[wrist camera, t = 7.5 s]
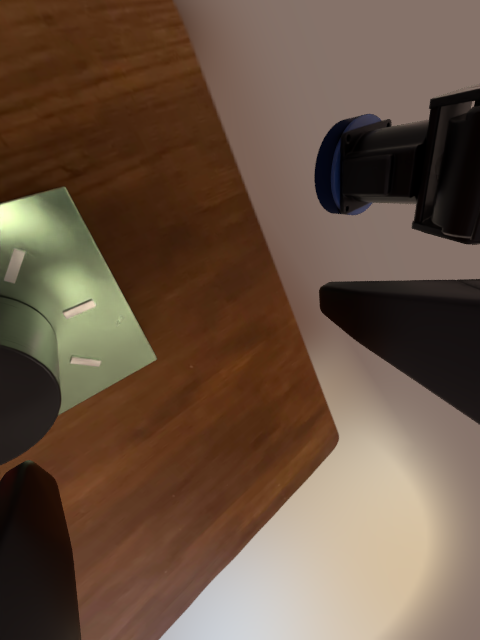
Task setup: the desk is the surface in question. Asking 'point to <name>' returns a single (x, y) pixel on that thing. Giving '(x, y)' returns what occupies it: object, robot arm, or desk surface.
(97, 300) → the dial panel
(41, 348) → the pointer wheel
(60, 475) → the desk surface
